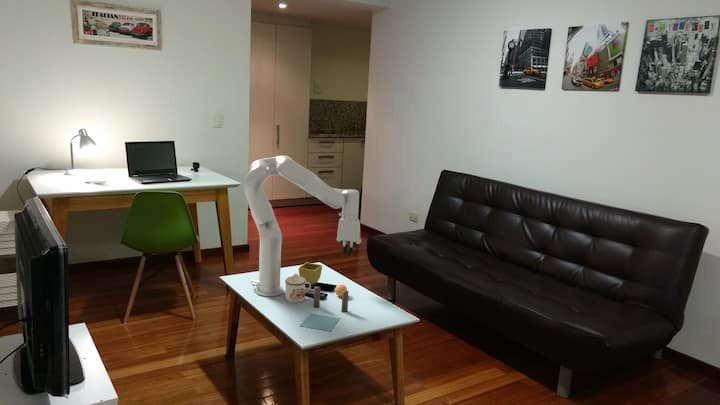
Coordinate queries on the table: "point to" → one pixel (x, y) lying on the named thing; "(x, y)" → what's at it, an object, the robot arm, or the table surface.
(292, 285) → the teacup with lid
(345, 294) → the right post
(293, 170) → the robot arm
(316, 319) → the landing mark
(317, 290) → the left post
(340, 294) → the ball
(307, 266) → the flower pot
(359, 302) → the table surface
